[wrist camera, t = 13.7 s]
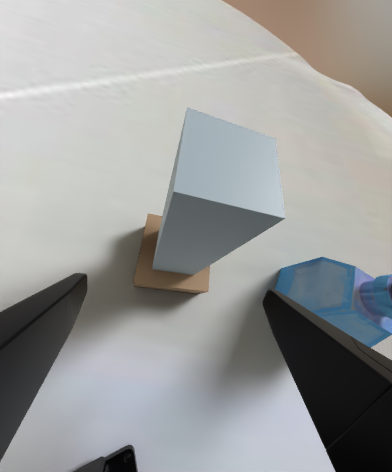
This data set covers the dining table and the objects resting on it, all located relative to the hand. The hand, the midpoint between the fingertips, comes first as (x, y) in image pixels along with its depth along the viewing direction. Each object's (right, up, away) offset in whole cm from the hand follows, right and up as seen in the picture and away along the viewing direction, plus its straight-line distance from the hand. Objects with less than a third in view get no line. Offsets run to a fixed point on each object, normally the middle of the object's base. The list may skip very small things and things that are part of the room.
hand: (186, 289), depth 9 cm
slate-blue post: (-1, +1, +9) cm, 9 cm away
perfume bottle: (+13, -6, +14) cm, 20 cm away
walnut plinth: (-2, 0, +12) cm, 12 cm away
